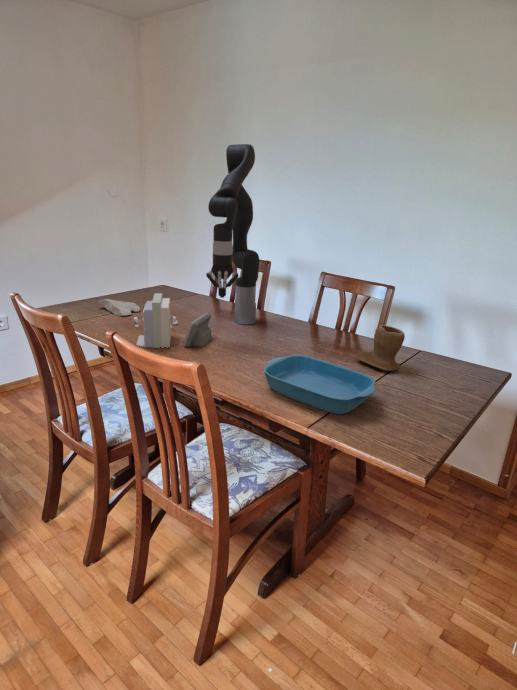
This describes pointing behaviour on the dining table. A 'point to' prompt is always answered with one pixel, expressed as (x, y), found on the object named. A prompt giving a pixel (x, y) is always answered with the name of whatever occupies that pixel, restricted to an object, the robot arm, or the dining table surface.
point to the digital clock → (199, 332)
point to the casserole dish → (319, 383)
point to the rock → (119, 307)
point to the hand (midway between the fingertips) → (222, 297)
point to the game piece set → (142, 319)
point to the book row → (156, 323)
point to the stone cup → (384, 348)
